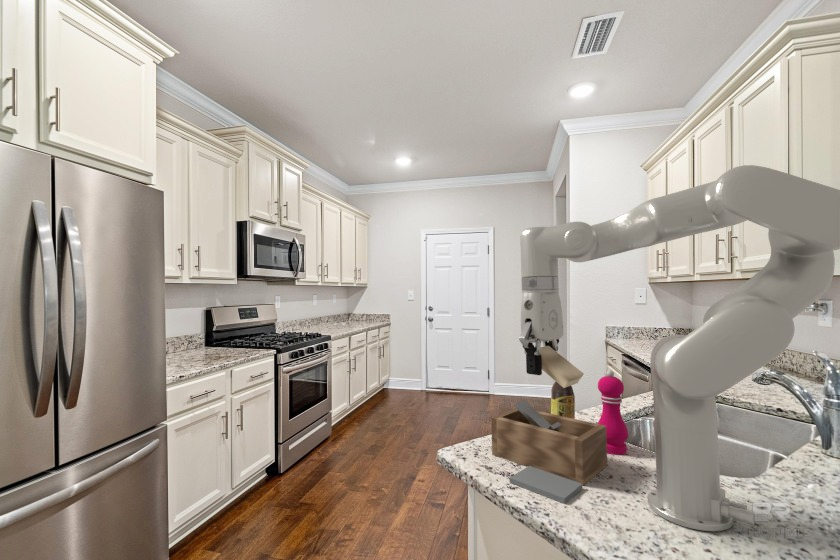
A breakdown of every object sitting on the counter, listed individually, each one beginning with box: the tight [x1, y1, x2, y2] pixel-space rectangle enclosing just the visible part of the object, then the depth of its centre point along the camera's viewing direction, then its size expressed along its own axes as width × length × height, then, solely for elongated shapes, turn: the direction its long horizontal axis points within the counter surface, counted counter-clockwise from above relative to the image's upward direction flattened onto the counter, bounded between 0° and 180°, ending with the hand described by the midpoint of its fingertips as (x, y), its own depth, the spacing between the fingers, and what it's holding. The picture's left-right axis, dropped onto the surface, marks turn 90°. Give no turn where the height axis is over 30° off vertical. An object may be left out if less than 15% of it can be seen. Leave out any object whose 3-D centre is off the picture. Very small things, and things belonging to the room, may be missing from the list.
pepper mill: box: [597, 369, 629, 456], centre depth 98 cm, size 7×7×20 cm
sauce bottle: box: [550, 381, 576, 419], centre depth 108 cm, size 6×6×20 cm
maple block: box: [539, 346, 585, 388], centre depth 79 cm, size 9×6×2 cm
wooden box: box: [490, 407, 608, 486], centre depth 93 cm, size 23×13×9 cm, turn 44°
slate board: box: [508, 466, 584, 504], centre depth 80 cm, size 12×8×1 cm, turn 44°
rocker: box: [513, 399, 561, 432], centre depth 92 cm, size 18×6×4 cm
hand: (542, 371), depth 81 cm, fingers closed on maple block, 6 cm apart
